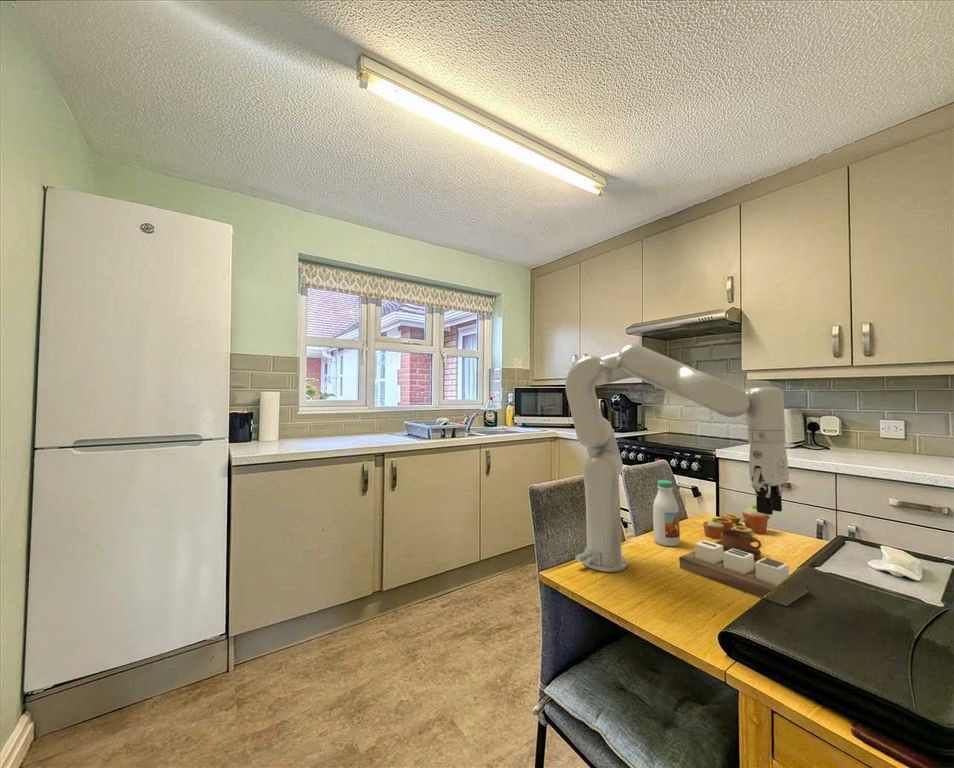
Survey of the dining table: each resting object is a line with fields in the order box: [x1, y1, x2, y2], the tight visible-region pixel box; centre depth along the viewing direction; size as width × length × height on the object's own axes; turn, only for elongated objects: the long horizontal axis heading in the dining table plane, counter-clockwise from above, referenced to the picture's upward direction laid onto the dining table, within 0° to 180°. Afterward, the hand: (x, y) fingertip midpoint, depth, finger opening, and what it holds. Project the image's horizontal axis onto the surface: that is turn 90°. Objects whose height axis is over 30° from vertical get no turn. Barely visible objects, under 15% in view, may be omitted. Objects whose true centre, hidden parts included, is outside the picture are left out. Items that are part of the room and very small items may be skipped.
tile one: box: [694, 540, 723, 564], centre depth 109 cm, size 5×5×4 cm
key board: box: [678, 550, 791, 599], centre depth 103 cm, size 12×25×3 cm, turn 32°
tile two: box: [723, 549, 755, 575], centre depth 103 cm, size 5×5×4 cm
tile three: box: [754, 557, 790, 585], centre depth 96 cm, size 5×5×4 cm
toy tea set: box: [702, 504, 771, 540], centre depth 138 cm, size 26×16×10 cm, turn 129°
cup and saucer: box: [714, 529, 762, 559], centre depth 120 cm, size 12×12×6 cm
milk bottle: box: [652, 479, 681, 547], centre depth 130 cm, size 8×8×20 cm
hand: (769, 511), depth 97 cm, fingers open, 4 cm apart
